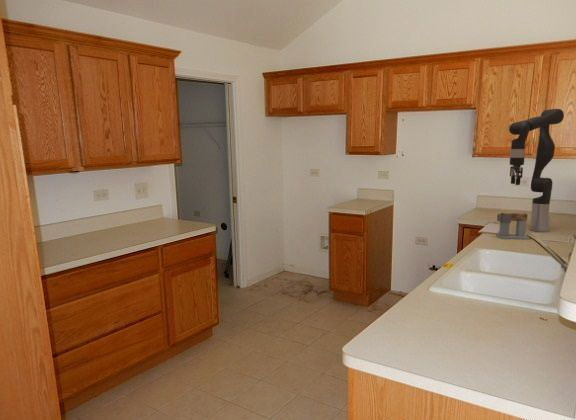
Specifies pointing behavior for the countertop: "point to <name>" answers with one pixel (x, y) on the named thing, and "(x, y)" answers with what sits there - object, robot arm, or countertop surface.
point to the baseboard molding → (490, 229)
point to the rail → (516, 216)
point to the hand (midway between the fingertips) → (515, 184)
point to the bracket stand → (504, 228)
